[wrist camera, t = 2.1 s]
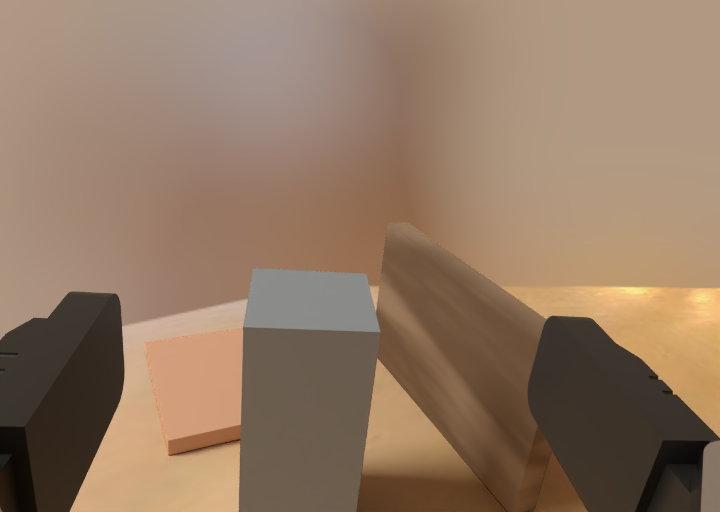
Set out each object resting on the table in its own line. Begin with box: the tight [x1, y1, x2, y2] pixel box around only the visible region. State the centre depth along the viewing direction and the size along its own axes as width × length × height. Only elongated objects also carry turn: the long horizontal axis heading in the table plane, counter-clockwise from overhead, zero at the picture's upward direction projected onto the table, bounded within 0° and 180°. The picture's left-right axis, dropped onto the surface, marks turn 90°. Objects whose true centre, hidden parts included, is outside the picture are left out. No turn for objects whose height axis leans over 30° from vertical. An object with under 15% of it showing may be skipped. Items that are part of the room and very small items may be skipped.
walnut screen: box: [376, 222, 552, 512], centre depth 34 cm, size 2×16×10 cm, turn 25°
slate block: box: [239, 268, 381, 512], centre depth 25 cm, size 5×5×12 cm
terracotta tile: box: [145, 328, 243, 455], centre depth 36 cm, size 10×10×1 cm
